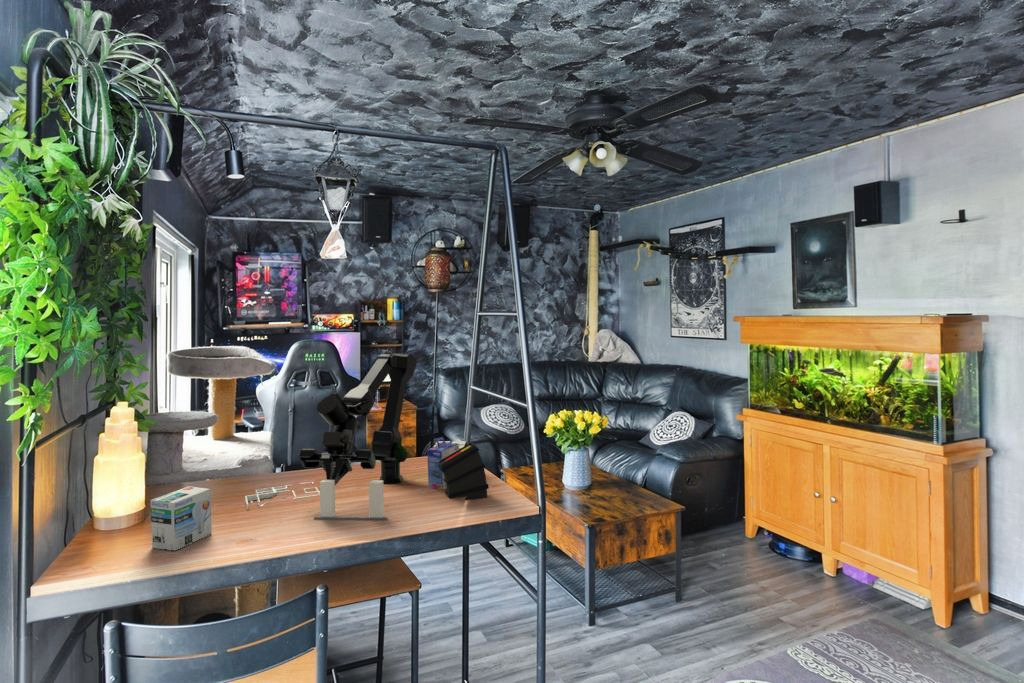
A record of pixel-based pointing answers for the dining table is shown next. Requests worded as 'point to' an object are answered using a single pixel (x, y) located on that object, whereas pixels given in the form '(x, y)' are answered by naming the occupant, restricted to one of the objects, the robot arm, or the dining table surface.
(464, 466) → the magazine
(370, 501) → the beige rectangular block
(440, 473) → the ink cartridge box
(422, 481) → the dining table surface
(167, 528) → the light bulb box
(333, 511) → the cream tall block
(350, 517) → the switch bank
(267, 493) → the floor plan model
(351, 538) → the dining table surface
